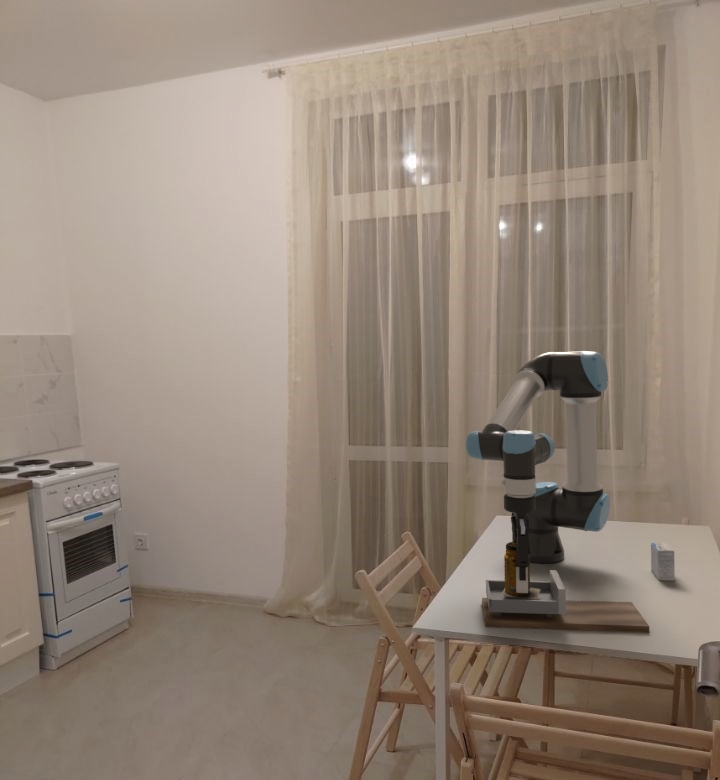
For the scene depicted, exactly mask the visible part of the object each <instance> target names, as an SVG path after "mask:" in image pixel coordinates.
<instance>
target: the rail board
mask: <svg viewBox="0 0 720 780" xmlns="http://www.w3.org/2000/svg"><path fill="white" fill-rule="evenodd" d="M481 603H482V604H481V605H482V610H483V618H484V619H483V620H484V627H486V628H487V627H488V628H512V629H513V628H514V629H534V630H535V629H537V630H538V629H543V630H564V631H566V630H569V631H595V632H596V631H597V632H598V631H599V632H621V633H623V632H624V633H650V625H649V623H648V622H647V621H646V619H645V618H644V617H643V615H642V614H641V612H640V611H639V610H638V609H637V607H636V606H635V605H634V604H633V602H632V601H605V600H604V601H603V600H600V601H599V600H570V599H569V600H567V599H566V614H553V618H552V619H550V620H549V619H547V618H546V614H535V613H505V612H501V616H500V617H499V618H496V617H495V616H494V612H489V607H488V601H487V597H481Z"/></svg>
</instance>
